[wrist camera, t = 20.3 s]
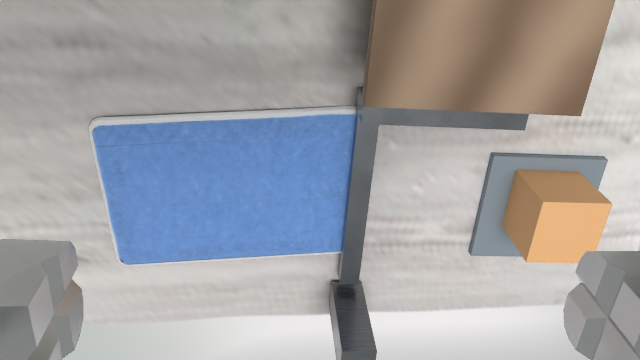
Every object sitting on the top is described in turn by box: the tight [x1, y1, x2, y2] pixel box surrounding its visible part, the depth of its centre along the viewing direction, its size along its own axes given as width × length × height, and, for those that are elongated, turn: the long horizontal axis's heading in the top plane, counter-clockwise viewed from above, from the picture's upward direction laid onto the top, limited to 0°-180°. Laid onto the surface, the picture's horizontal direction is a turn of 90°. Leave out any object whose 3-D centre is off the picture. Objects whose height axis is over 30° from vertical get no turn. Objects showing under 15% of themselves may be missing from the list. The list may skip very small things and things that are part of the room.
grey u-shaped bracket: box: [329, 88, 529, 360], centre depth 42 cm, size 12×19×8 cm, turn 176°
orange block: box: [502, 169, 612, 263], centre depth 43 cm, size 5×5×5 cm
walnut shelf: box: [362, 0, 615, 116], centre depth 35 cm, size 13×10×8 cm
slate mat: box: [469, 153, 608, 256], centre depth 46 cm, size 9×9×1 cm
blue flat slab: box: [88, 106, 356, 267], centre depth 43 cm, size 19×13×1 cm, turn 91°
